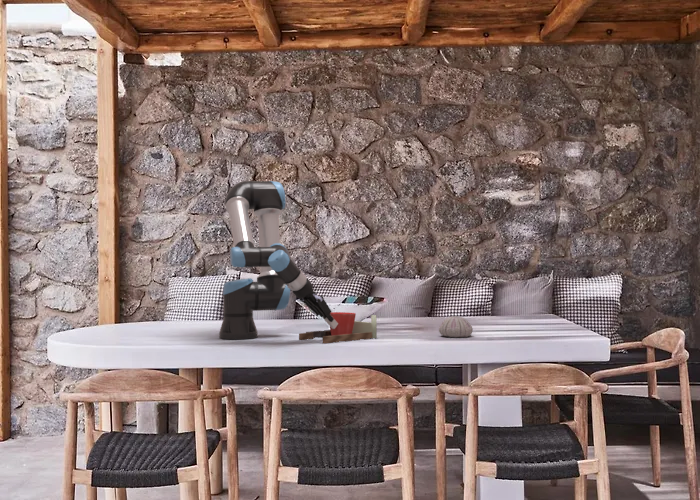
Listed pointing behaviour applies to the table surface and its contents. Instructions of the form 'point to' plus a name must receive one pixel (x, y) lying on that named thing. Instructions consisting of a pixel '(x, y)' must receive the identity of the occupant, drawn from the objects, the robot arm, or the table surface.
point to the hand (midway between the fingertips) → (335, 326)
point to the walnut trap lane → (334, 336)
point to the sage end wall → (366, 327)
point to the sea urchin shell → (455, 327)
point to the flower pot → (343, 323)
